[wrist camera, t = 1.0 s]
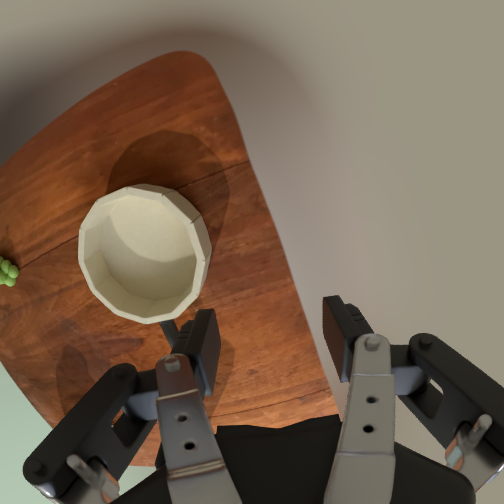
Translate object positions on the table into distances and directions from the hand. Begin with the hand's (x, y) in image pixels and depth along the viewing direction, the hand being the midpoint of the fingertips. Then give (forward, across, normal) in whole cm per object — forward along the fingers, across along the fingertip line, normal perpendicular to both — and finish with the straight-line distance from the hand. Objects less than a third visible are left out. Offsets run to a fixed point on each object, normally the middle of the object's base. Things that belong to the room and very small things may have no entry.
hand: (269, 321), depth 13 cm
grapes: (+17, +41, 0) cm, 44 cm away
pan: (+17, +12, +5) cm, 21 cm away
